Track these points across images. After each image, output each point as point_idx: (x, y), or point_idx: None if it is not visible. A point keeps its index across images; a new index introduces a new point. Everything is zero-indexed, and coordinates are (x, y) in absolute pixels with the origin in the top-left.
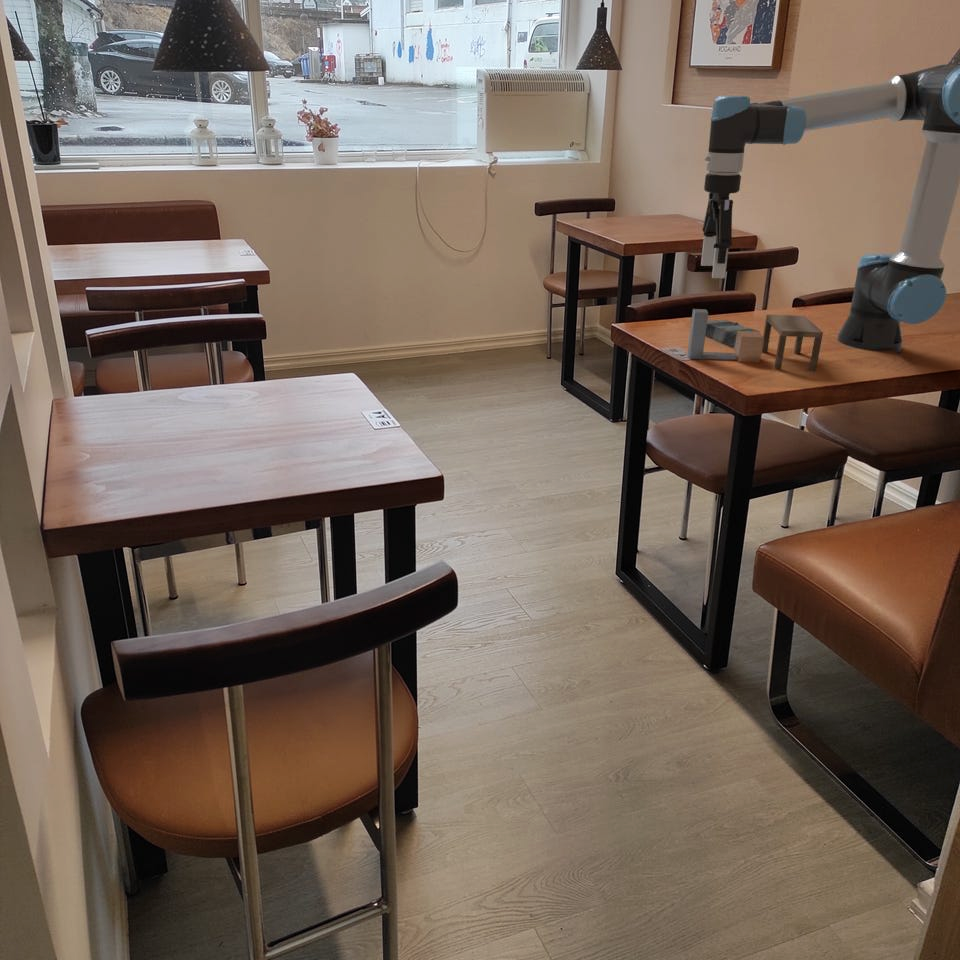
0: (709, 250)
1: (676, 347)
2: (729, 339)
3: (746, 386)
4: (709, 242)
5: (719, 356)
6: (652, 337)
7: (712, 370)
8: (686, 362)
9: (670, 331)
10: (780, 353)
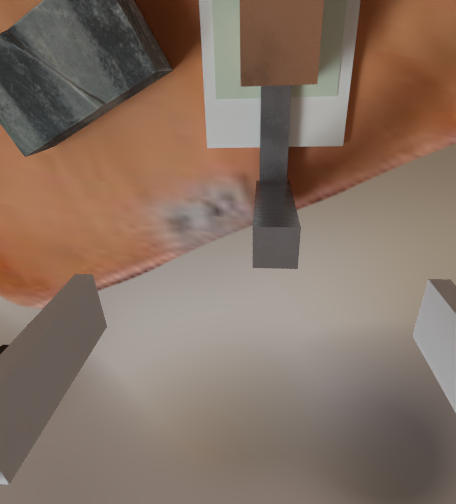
0: (54, 362)
1: (151, 214)
2: (143, 83)
3: None
4: (19, 414)
5: (288, 137)
6: (85, 254)
7: (334, 157)
8: None
9: (16, 208)
10: None
